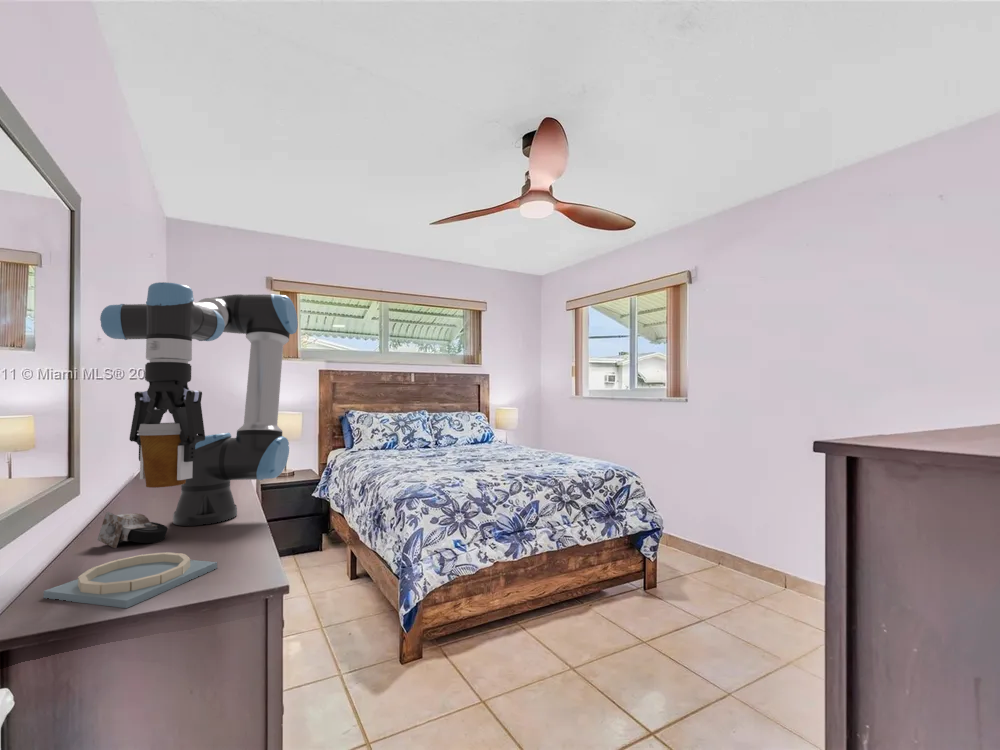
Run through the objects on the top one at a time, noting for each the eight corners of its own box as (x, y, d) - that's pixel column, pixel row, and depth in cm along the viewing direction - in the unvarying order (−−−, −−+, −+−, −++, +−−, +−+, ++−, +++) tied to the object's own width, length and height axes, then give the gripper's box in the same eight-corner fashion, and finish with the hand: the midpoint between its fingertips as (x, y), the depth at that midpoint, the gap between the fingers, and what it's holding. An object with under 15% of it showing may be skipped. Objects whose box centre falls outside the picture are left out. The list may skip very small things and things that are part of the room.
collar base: (144, 561, 99) (144, 548, 99) (217, 568, 95) (217, 554, 95) (43, 598, 82) (43, 582, 82) (126, 608, 78) (126, 591, 78)
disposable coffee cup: (206, 482, 97) (207, 422, 97) (157, 490, 88) (159, 424, 88) (173, 480, 100) (174, 422, 101) (123, 488, 91) (125, 424, 92)
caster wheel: (169, 548, 116) (126, 556, 106) (138, 534, 120) (94, 540, 110) (178, 521, 116) (136, 525, 107) (147, 507, 120) (103, 511, 111)
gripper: (107, 362, 94) (103, 480, 93) (197, 358, 89) (194, 483, 88) (144, 365, 101) (141, 474, 100) (228, 361, 96) (226, 476, 95)
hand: (166, 478), depth 94 cm, fingers closed on disposable coffee cup, 8 cm apart
